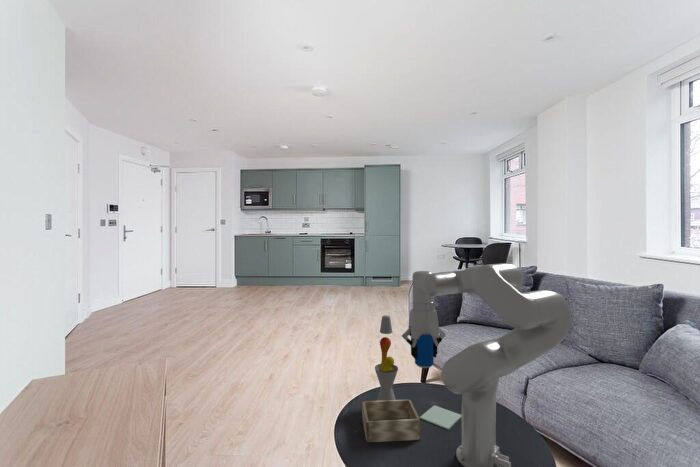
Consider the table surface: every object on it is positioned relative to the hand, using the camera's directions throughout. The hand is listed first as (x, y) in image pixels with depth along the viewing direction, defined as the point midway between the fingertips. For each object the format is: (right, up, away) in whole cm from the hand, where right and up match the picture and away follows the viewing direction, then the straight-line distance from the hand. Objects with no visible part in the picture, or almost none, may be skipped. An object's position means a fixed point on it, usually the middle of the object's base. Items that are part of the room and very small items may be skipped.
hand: (424, 356), depth 123 cm
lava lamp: (-12, -23, +11) cm, 29 cm away
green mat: (+7, -23, +3) cm, 24 cm away
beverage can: (0, -3, 0) cm, 3 cm away
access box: (-13, -23, -4) cm, 27 cm away
